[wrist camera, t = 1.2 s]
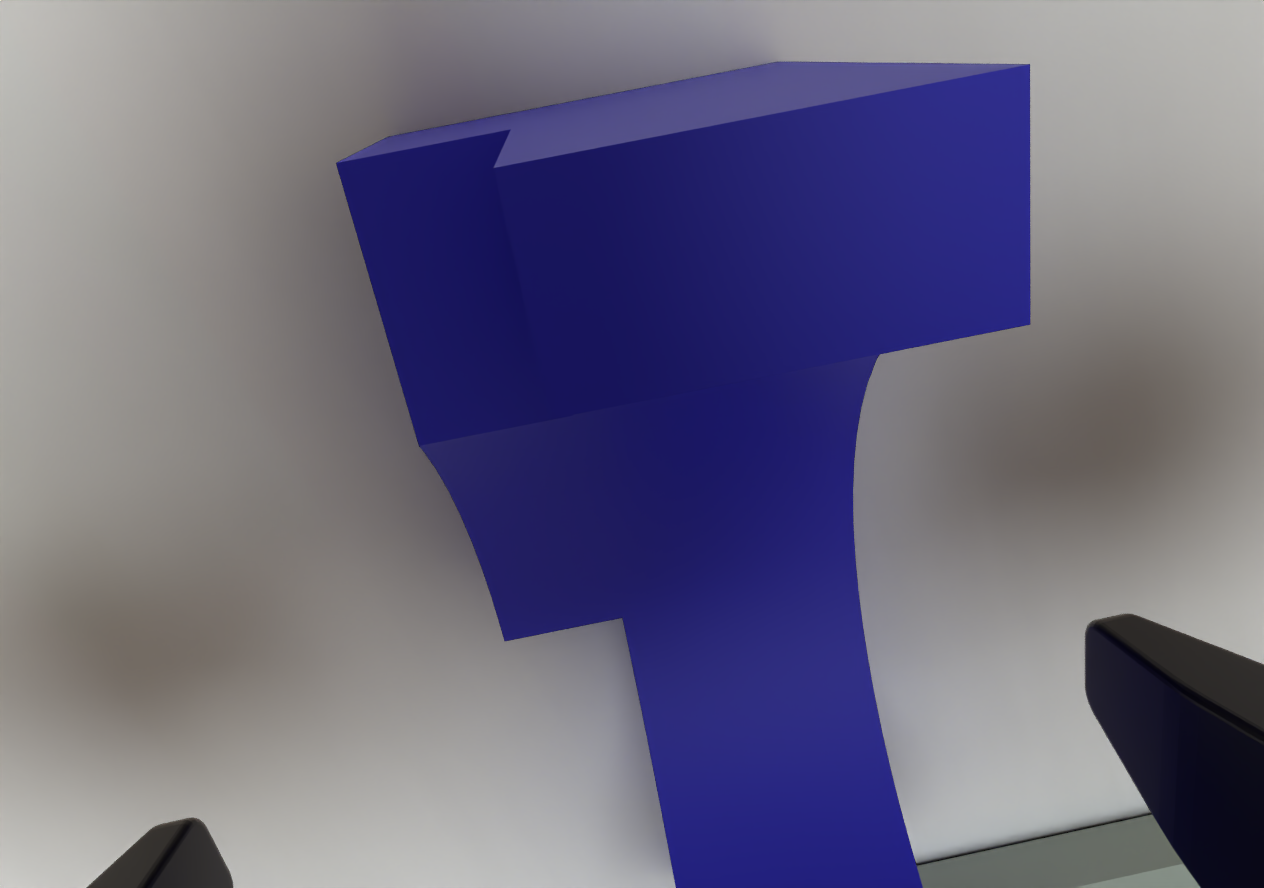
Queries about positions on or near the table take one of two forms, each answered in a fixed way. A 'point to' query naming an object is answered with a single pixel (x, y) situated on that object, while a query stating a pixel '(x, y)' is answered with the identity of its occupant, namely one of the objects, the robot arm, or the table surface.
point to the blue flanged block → (702, 398)
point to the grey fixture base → (1071, 861)
